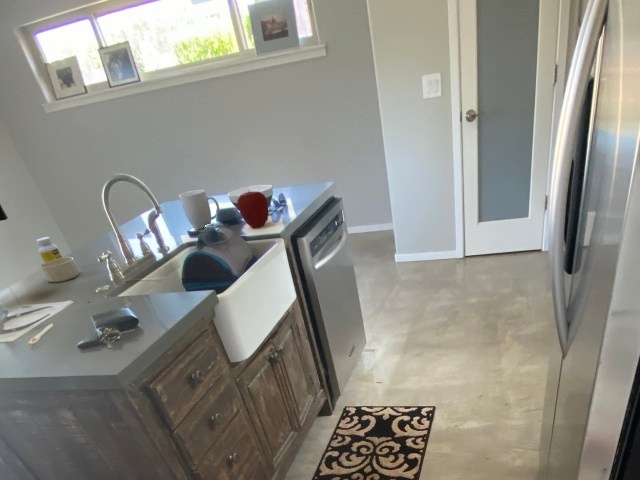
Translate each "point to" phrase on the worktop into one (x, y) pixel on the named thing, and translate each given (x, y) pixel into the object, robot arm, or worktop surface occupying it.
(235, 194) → the bowl
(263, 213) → the apple
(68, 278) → the small bowl
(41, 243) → the pill bottle
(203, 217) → the mug
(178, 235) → the worktop surface
